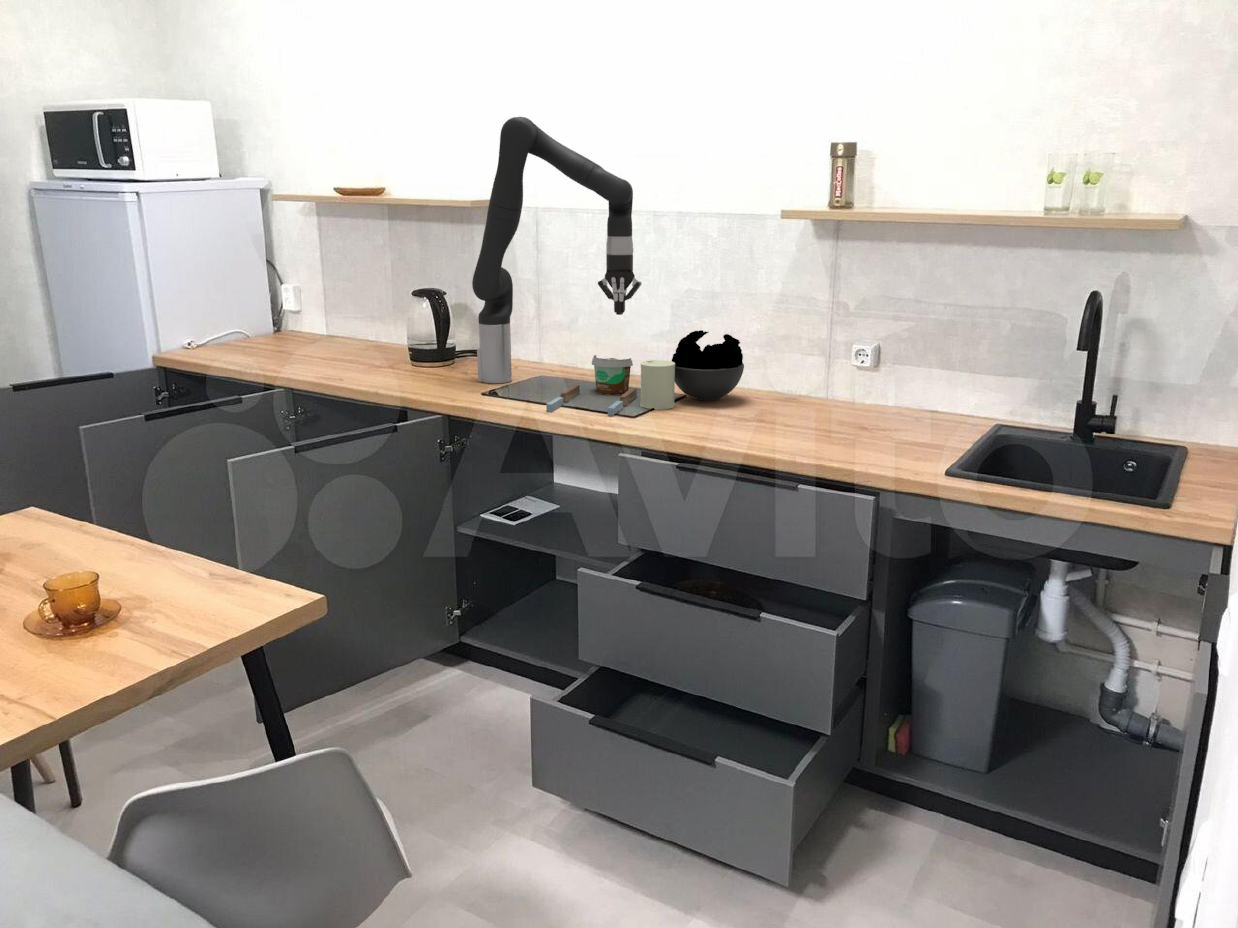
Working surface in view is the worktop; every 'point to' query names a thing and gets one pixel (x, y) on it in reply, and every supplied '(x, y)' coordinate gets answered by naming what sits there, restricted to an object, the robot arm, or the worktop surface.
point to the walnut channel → (575, 391)
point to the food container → (612, 375)
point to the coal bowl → (707, 367)
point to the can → (657, 384)
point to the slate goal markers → (559, 402)
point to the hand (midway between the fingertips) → (619, 314)
